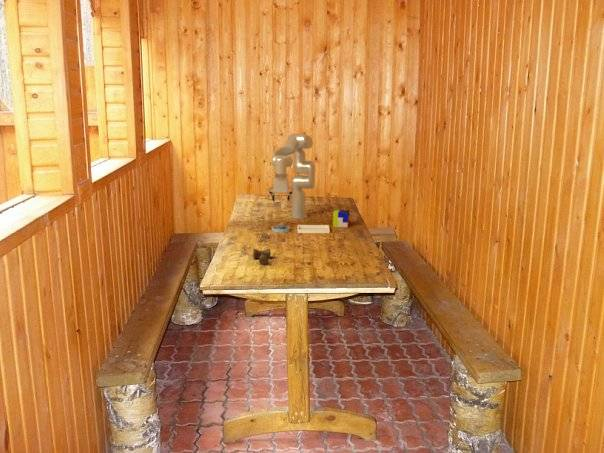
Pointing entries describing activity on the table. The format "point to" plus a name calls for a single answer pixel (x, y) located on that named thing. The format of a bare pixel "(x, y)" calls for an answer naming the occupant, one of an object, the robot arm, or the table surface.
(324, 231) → the white rectangular frame
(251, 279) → the table surface
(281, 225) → the ball
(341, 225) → the puzzle toy
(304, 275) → the table surface
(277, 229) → the bowl
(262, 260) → the kendama
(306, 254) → the table surface
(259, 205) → the table surface
